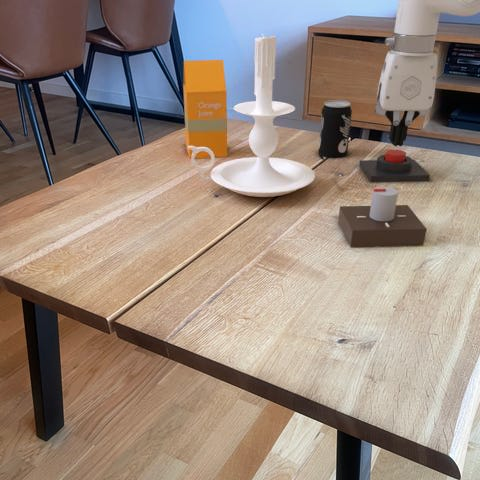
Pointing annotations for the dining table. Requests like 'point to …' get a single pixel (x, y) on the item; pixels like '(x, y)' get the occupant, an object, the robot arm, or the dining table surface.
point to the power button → (395, 156)
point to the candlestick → (260, 140)
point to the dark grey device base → (393, 170)
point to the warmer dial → (383, 203)
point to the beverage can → (335, 129)
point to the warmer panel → (381, 228)
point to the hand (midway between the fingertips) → (396, 144)
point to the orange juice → (205, 107)
